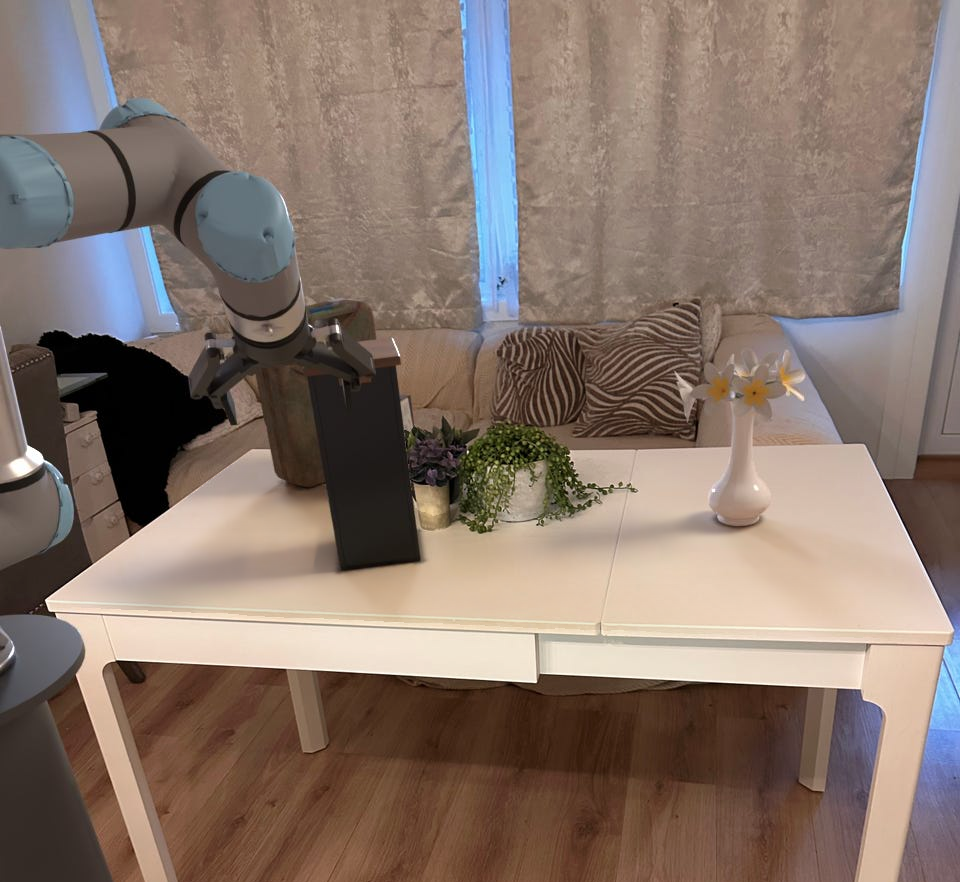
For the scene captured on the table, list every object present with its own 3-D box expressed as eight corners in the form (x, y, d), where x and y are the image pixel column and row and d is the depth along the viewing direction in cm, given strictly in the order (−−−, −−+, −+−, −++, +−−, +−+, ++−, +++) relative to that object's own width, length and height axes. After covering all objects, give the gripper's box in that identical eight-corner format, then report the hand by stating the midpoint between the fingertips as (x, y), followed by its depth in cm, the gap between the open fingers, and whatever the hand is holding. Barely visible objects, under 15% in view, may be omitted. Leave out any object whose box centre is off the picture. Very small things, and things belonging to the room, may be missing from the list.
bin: (420, 561, 141) (395, 365, 127) (340, 571, 141) (306, 375, 127) (416, 531, 152) (393, 346, 138) (342, 540, 151) (310, 356, 137)
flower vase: (664, 511, 150) (665, 351, 138) (778, 498, 150) (789, 337, 138) (687, 543, 138) (690, 371, 126) (810, 529, 139) (825, 356, 127)
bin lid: (407, 383, 121) (405, 367, 120) (305, 396, 120) (302, 380, 119) (394, 351, 139) (392, 336, 138) (305, 362, 137) (302, 347, 136)
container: (367, 450, 192) (344, 295, 177) (398, 458, 185) (376, 298, 171) (272, 482, 179) (239, 318, 165) (302, 493, 172) (270, 323, 158)
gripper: (138, 361, 89) (187, 450, 110) (400, 330, 92) (400, 423, 113) (129, 289, 90) (180, 391, 111) (388, 261, 93) (390, 366, 114)
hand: (290, 407), depth 112 cm, fingers open, 13 cm apart
